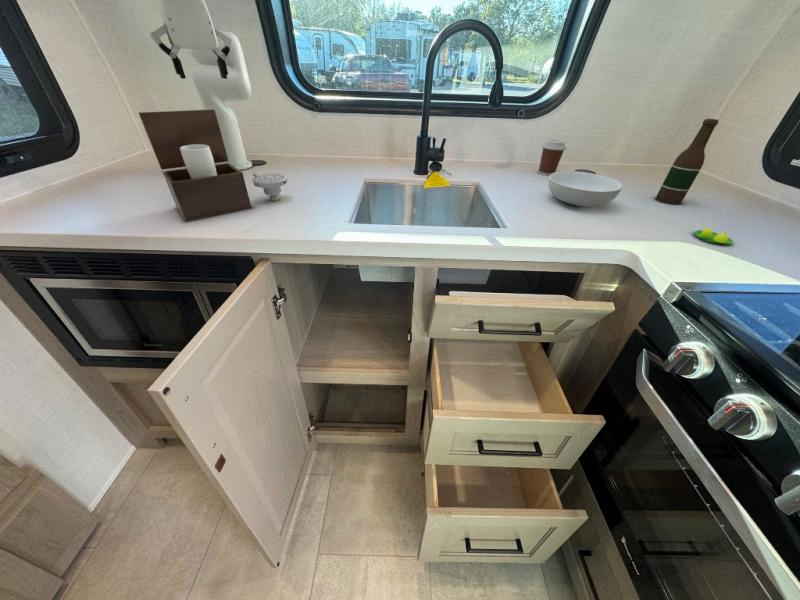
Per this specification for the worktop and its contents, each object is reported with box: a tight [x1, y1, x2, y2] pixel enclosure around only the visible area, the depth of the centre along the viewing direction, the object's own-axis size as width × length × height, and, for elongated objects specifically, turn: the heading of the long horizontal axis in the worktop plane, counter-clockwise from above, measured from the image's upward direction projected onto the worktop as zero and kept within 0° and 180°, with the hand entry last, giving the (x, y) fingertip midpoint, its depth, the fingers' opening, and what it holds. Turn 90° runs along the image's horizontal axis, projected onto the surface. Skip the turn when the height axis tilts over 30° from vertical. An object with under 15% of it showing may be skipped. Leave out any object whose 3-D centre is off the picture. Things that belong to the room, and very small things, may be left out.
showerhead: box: [252, 172, 288, 202], centre depth 94 cm, size 9×7×10 cm
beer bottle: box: [655, 118, 719, 205], centre depth 99 cm, size 8×8×24 cm
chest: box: [162, 163, 253, 222], centre depth 86 cm, size 12×17×10 cm
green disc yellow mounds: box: [693, 226, 734, 245], centre depth 81 cm, size 8×8×3 cm
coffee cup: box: [537, 138, 568, 176], centre depth 126 cm, size 9×9×12 cm
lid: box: [138, 109, 229, 171], centre depth 84 cm, size 13×17×5 cm
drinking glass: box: [180, 144, 217, 179], centre depth 84 cm, size 7×7×15 cm
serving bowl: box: [548, 170, 623, 207], centre depth 100 cm, size 21×21×7 cm
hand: (204, 78), depth 81 cm, fingers open, 9 cm apart
